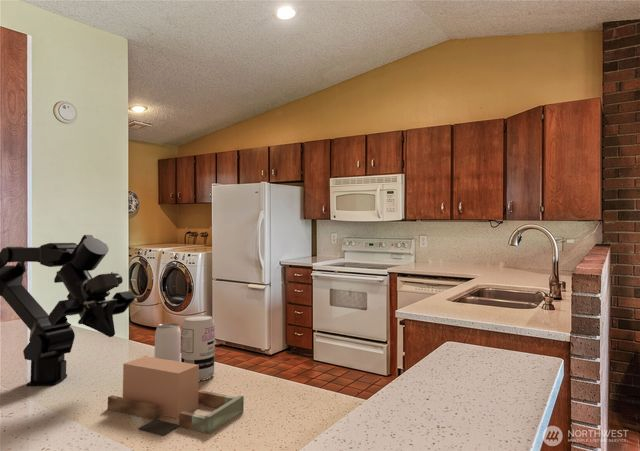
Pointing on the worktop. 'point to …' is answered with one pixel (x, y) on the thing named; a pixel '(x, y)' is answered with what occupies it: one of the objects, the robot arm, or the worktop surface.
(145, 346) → the worktop surface
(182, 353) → the supplement can
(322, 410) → the worktop surface
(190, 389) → the brick
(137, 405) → the lane
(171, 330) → the can
